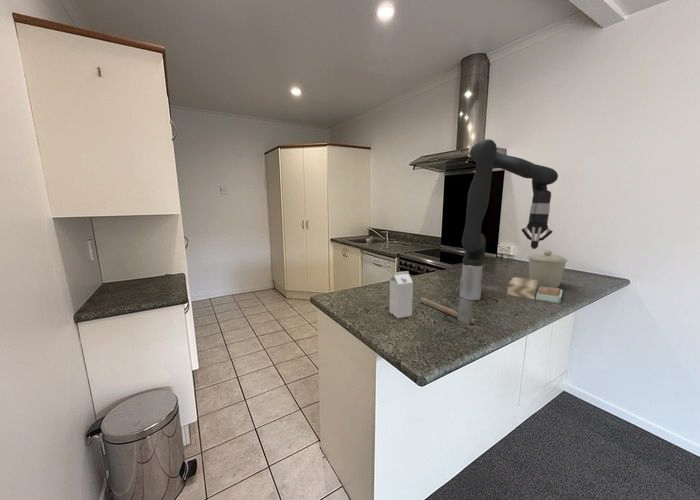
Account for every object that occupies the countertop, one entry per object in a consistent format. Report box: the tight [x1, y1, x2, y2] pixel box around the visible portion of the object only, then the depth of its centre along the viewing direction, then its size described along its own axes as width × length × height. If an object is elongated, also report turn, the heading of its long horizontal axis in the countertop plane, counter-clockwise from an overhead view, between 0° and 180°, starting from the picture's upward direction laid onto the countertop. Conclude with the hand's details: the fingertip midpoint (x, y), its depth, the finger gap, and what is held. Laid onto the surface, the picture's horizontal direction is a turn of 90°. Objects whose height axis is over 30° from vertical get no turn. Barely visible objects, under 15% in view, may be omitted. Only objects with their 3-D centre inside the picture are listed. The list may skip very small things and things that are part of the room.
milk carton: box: [389, 270, 414, 319], centre depth 116 cm, size 7×7×19 cm
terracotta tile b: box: [548, 287, 560, 297], centre depth 138 cm, size 4×5×3 cm
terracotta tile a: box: [540, 287, 548, 295], centre depth 135 cm, size 4×5×3 cm
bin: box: [535, 286, 563, 305], centre depth 136 cm, size 10×16×3 cm, turn 140°
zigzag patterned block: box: [506, 276, 539, 300], centre depth 143 cm, size 12×16×6 cm
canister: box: [527, 249, 568, 288], centre depth 152 cm, size 18×18×21 cm
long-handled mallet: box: [419, 297, 475, 325], centre depth 118 cm, size 10×2×30 cm
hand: (534, 248), depth 132 cm, fingers closed
